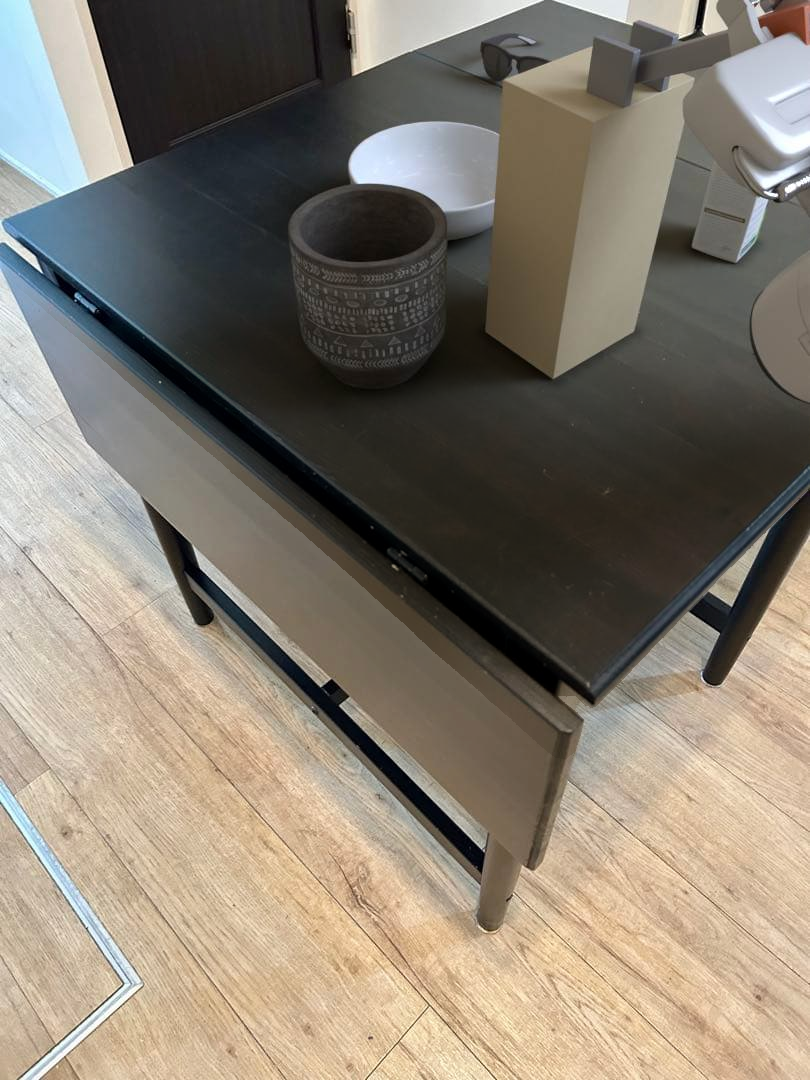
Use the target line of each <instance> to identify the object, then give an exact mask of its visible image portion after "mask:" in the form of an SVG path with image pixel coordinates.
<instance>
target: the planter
mask: <svg viewBox="0 0 810 1080" xmlns="http://www.w3.org/2000/svg"><path fill="white" fill-rule="evenodd" d="M287 236H288V242H289V249H290V260H291V268H292V276H293V282H294V283H293V284H294V289H295V295H296V302H297V305H296V306H297V312H298V313H297V314H298V321H299V327H300V332H301V336H302V340H303V343H304V344H305V346H306V347H307V349H308V350H309V351H310V353H311V354H312V355H313V356H314V357H315V358H316V359H317V361H318V362H319V363H320V364H321V365H322V366H323V367H324V368H325V369H326V370H328V371H329V372H330V374H332V375H333V376H334V377H335V378H336V379H338V380H339V381H341V383H344V384H346V385H348V386H350V387H351V386H352V387H355V388H359V389H366V390H379V389H380V390H381V389H387V388H392V387H395V386H398V385H400V384H402V383H404V382H407V381H408V380H409V379H411V378H412V377H413V376H414V375H416V373H417V372H418V371H419V370H420V369H421V368H422V367H423V365H424V364H425V363H426V362H427V361H428V360H429V358H430V357H431V356H432V354H433V353H434V352H435V350H436V349H437V347H439V344H440V342H441V341H442V340H443V336H444V334H445V328H446V318H447V316H446V315H447V291H446V288H447V272H448V271H447V269H448V240H447V220H446V216H445V214H444V212H443V210H442V209H441V208H440V206H439V205H438V204H437V203H436V202H434V201H433V200H432V199H430V198H429V197H427V196H426V195H424V194H422V193H420V192H417V191H414V190H411V189H407V188H403V187H399V186H394V185H387V184H372V183H366V184H352V185H351V184H347V185H341V186H338V187H337V186H336V187H334V188H330V189H327V190H325V191H322V192H321V193H318V194H316V195H314V196H312V197H311V198H309V199H307V200H306V201H305V202H303V203H302V204H300V205H299V206H298V208H296V210H294V212H293V213H292V214H291V217H290V218H289V220H288V224H287Z"/></svg>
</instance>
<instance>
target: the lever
mask: <svg viewBox="0 0 810 1080" xmlns="http://www.w3.org/2000/svg"><path fill="white" fill-rule="evenodd" d="M757 18H758V22H759V26H760V28H762V27H764V26H766V27H767V28H768V29H769V31H770V32H771V33H772V35H773V36H774V38H776V37H779V36H781V35H783V34H786V33H788V32H791V31H794V32H796V33H797V34H798V35H799V36H800V37H801V38H802V40H803V41H804V43H805V45H806V46H808V45H810V1H809V2H806V3H802V4H798V5H795V6H791V7H788V8H784V9H781V10H777V11H770V12H768V13H764V14H763V15H759V16H757ZM729 57H731V54H730V46H729V38H728V30H727V29H725V30H721V31H717V32H713V33H710V34H706V35H702V36H699V37H695V38H692V39H687V40H684V41H681V42H678V43H677V44H673V45H669V46H666V47H662V48H659V49H655V50H651V51H649V52H646V53H644V54H641V55H640V57H639V62H638V67H637V73H636V78H635V83H634V84H638V83H643V82H647V81H651V80H655V79H659V78H664V77H668V76H672V75H676V74H680V73H683V74H686V73H688V72H692V71H696V70H701V69H705V68H710V67H711V66H712V65H714V64H716V63H718V62H720V61H722V60H725V59H727V58H729Z"/></svg>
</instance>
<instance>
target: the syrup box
mask: <svg viewBox="0 0 810 1080" xmlns="http://www.w3.org/2000/svg"><path fill="white" fill-rule="evenodd" d="M772 191H773V189H772V190H770V191H768V192H770V193H772ZM769 203H770V200H769V199H765V198H762V197H760V196H759V197H756V196H754V195H753V194H751V193H750V192H749V190H748V189H747V188H745V187H743V186H741V185H739V184H738V183H737V182H735V181H734V180H733V179H732V178H731V177H730V176H729V175H728V174H727V173H726V172H725V171H724V170H723V169H722V168H721V167H720V166H719V164H718V163H717V162H716V161H715V160H714V159H713V162H712V166H711V168H710V172H709V177H708V180H707V185H706V188H705V192H704V196H703V200H702V204H701V208H700V211H699V216H698V219H697V224H696V227H695V230H694V234H693V238H692V243H691V248H692V249H695V250H696V251H699V252H702V253H705V254H706V255H709V256H713V257H716V258H719V259H721V260H724V261H727V262H731V263H734V264H736V263H738V261H739V260H740V259H741V258H742V257H744V255H745V254H746V253H748V251H749V250H750V249H751V248H752V247H753V245H755V243H756V242H757V241H758V238H759V234H760V231H761V227H762V225H763V222H764V219H765V216H766V213H767V210H768V207H769Z"/></svg>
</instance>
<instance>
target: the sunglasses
mask: <svg viewBox="0 0 810 1080" xmlns="http://www.w3.org/2000/svg"><path fill="white" fill-rule="evenodd" d="M509 39H518V40H520V41H523V42H524V43H526V44H528V45H529V46H533V45H536V44H537V42H538V41H537V40H536V39H534V38H531V37H528V36H525V35H523V34H520V33H515V32H514V33H513V32H510V33H509V32H508V33H503V34H499V35H495V36H492V37H489V38H487V39H484V40H482V41H481V42H480V48H479V51H480V54H481V59H482V64H483V69H484V71H485V73H486V75H487V76H488V77H489V78H490V80H492V81H494V82H498V83H499V82H503V80H504V79H507V78H508V77H509V75H510V74H511V73H512V71H513V61H516V63H515V67H516V70H517V74H520V73H523V72H525V71H528V70H531V69H533V68H536V67H538V66H541V65H544V64H546V63H549V62H552V61H553V60H550V59H547V58H544V57H540V56H535V55H522V56H521V55H517V54H513V53H511V52H510V51H509V50H507V49H506V48H504V47H502V46H501V44H502V43H503V42H505V41H506V40H509Z"/></svg>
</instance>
